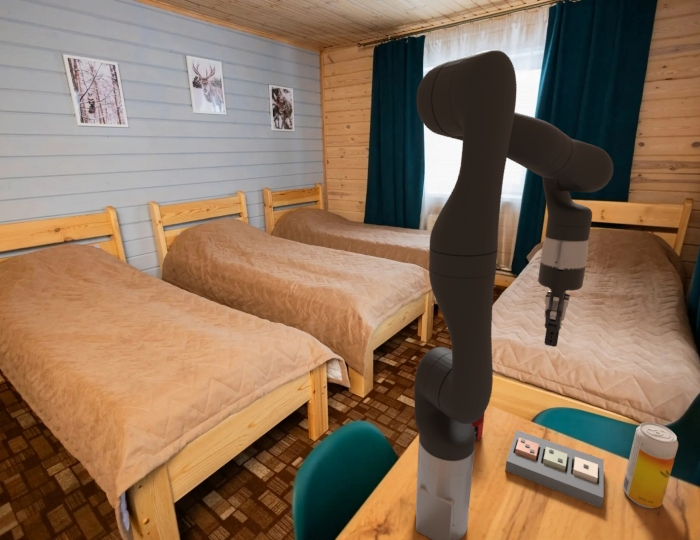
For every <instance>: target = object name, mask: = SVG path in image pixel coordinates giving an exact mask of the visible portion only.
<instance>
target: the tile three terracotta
mask: <svg viewBox="0 0 700 540" xmlns="http://www.w3.org/2000/svg"><path fill="white" fill-rule="evenodd" d="M538 447H539V444H537V443H534V442H531V441H528V440H526V439H523V438H520V437H519V440H518V443H517V446H516V450H515V454H518V455H520V456H523V457H526V458H529V459H531V460H534V461H537V460H538V459H537V458H538V456H537V454H538Z"/></svg>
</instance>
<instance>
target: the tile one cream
mask: <svg viewBox="0 0 700 540" xmlns="http://www.w3.org/2000/svg"><path fill="white" fill-rule="evenodd" d="M571 474H572V475H575V476H578V477H580V478H583V479H586V480H588V481H591V482H594V483H597V479H598V464H595V463H592V462H590V461H587V460H584V459H581V458H578V457H575V460H574V465H573V469H572V472H571Z"/></svg>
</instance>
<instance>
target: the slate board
mask: <svg viewBox="0 0 700 540" xmlns="http://www.w3.org/2000/svg"><path fill="white" fill-rule="evenodd" d="M519 437H520V438H523V439H526V440H528V441H531V442H534V443H537V444H539V447H538V454H537V458H538V459H537V460H536V461H534V460H531V459H529V458H526V457H523V456H520V455H518V454H515V451H516V446H517V443H518V440H519ZM546 447H549V448H552V449H555V450H558V451H560V452H563V453H566V454H567V461H566V471H565V472H564V471H561V470H559V469H556V468H553V467H550V466H548V465H545V464H543V459H544V455H545V450H546ZM575 457H578V458H581V459H584V460H587V461H590V462H592V463H595V464H598V479H597V483H594V482H591V481H588V480H586V479H583V478H580V477H578V476H575V475H572V470H573V465H574V460H575ZM505 461H506V462H505V471H506V472H509V473H511V474H513V475H516V476H518V477H521V478H523V479H524V480H525V479H526V480H528V481H530V482H533V483H536V484H538V485H541V486H544V487H547V488H549V489H552V490H554V491H556V492H558V493H561V494H564V495H566V496H569V497H572V498H574V499H577V500H579V501H582V502H583V503H586V504H589V505H590V506H591V505H592V506H595V507H596V508H600V509H602V507H603V502H604V501H603V500H604V481H605V480H604V478H605V477H604V472H605V471H604V468H605V467H604V466H605V465H604V463H605V462H604V461H605V459H603V458H601V457H599V456H595V455H592V454H589V453H586V452H583V451H580V450H576V449H574V448H571V447H568V446H566V445H562V444H559V443H556V442H553V441H550V440H548V439H544V438H541V437H538V436H536V435H532V434H530V433H526V432H523V431H522V430H518V429H516V430H515V433H514V436H513V440H512V442H511V445H510V448H509V452H508V454H507V458H506V460H505Z"/></svg>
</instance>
